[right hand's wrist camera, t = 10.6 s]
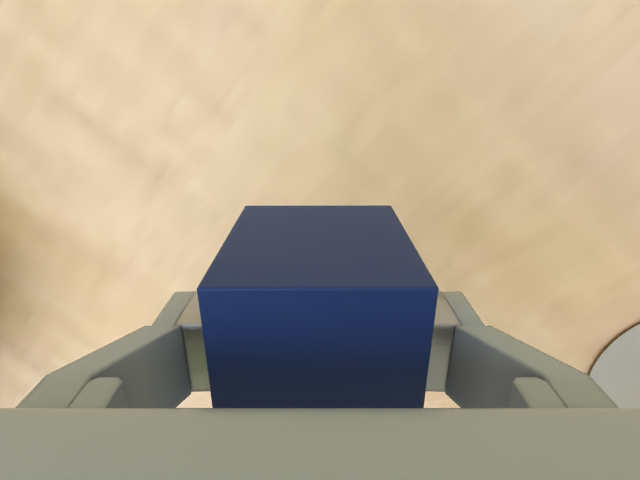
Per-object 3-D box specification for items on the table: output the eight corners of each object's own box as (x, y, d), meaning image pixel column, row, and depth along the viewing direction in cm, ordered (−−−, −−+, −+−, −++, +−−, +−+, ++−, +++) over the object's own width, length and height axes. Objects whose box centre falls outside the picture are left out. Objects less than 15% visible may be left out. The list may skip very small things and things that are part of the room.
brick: (245, 205, 11) (195, 288, 7) (391, 205, 11) (439, 288, 7) (255, 341, 13) (221, 479, 9) (381, 340, 13) (414, 478, 9)
